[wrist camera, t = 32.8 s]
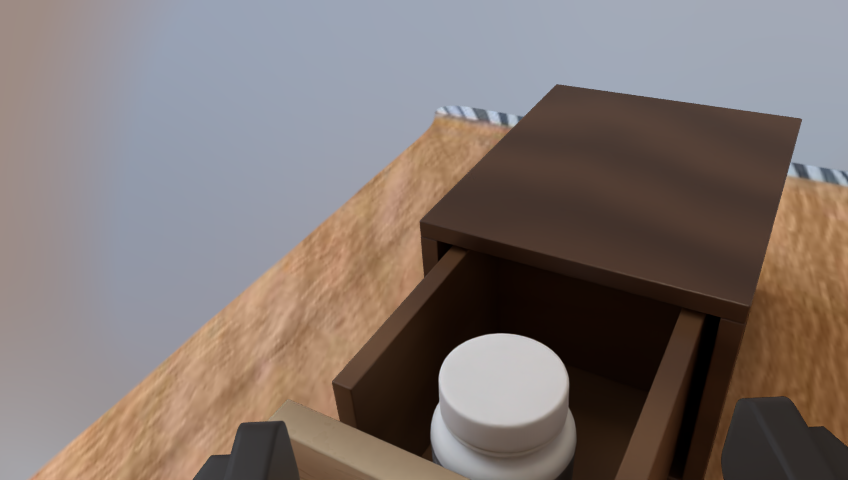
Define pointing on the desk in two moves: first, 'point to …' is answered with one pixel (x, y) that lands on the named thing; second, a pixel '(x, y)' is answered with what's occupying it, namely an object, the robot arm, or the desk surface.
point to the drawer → (526, 316)
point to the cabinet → (634, 214)
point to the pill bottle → (504, 411)
